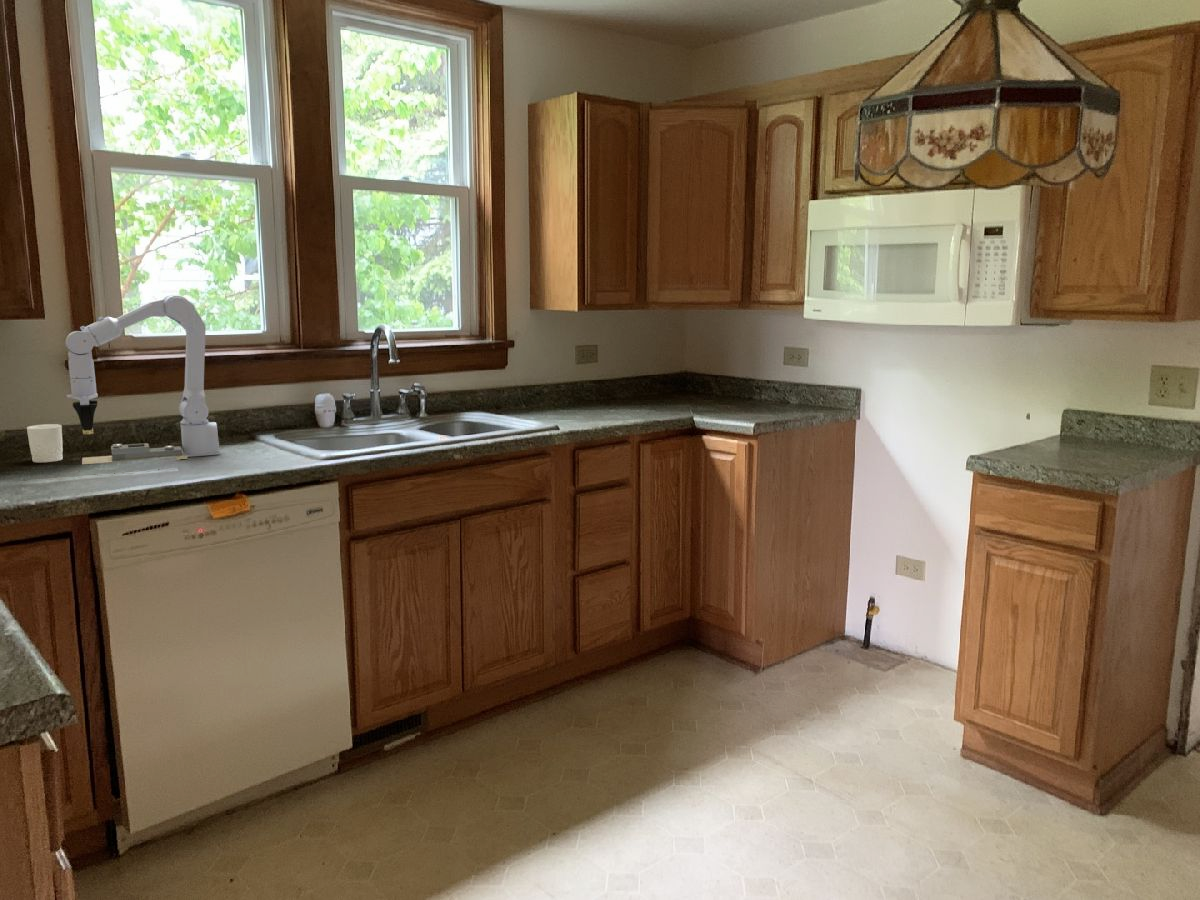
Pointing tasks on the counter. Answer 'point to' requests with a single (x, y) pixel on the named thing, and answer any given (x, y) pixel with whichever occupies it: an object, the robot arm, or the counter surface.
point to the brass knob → (88, 431)
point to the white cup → (45, 442)
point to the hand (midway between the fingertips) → (87, 429)
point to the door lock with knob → (137, 453)
